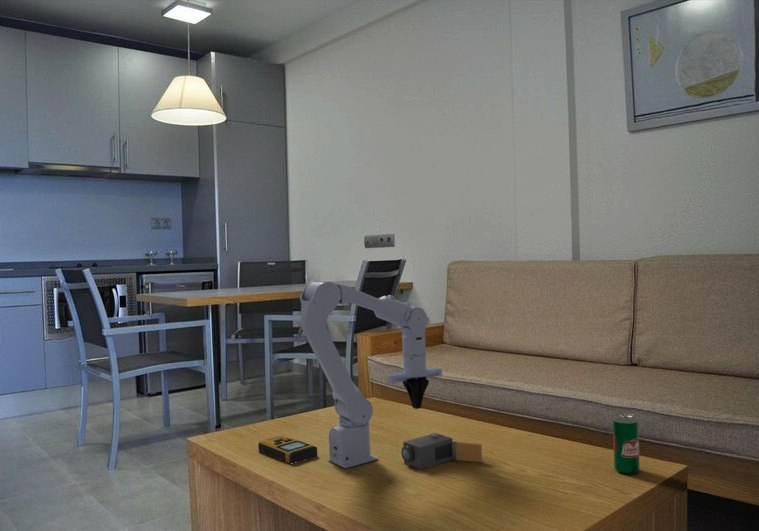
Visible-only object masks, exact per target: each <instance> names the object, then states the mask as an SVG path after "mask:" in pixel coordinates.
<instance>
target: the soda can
mask: <svg viewBox="0 0 759 531" xmlns="http://www.w3.org/2000/svg"><path fill="white" fill-rule="evenodd" d="M613 416H614V417H613V419H612V437H613V438H612V439H613V441H612V442H613V463H614V464H613V465H614V469H615V470H616V472H618V473H619V474H622V475H635V474H637V473H638V472H639V471H640V470H641V467H640V466H641V465H640V464H641V463H640V444H639V442H640V441H639V440H640V439H639V421H638V419H637V416H636V415H635V414H632V413H626V412H625V413H623V412H621V413H620V412H619V413H616V414H614V415H613Z"/></svg>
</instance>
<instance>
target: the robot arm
mask: <svg viewBox="0 0 759 531" xmlns="http://www.w3.org/2000/svg"><path fill="white" fill-rule="evenodd" d="M395 298H396V297H395V296H394V295H391V294H388V295H383V296H381V297H375V296H373V295H371V294H369V293H368V294H367V293H365V292H363V291H361V290H358V289H356V288H354V287H350V286H348V285H345V284H340V283H335V282H332V281H319V280H312V281H310V282H308V283H307V284H306V285H305V286H304V288H303V290H302V293H301V294H300V297H299V300H300V304H301V305H300V307H301V308H300V327H301V330H302V332H303V334H304V336H305V338H306V340H307V342H308V344H309V346H310V347H311V349H312V352H313V353H314V355H315V357H316V359H317V361H318V363H319V365H320V367H321V369H322V371H323V373H324V375H325V377H326V379H327V381H328V383H329V385H330V388H331V389H332V392H331V395H332V398H333V400H334V409H335V412H336V414H337V415H339V418H338V424H337V425H336V426H334V427H332V428H330V430H329V433H328V446H329V447H328V448H329V451H328V452H329V457H328V459H327V460H328V461H329V462H331V463H334V464H335V465H337V466H339V467H342V468H344V469H349V468H352V467H356V466H358V465H363V464H366V463H369V462H373V461H377V460H379V457H378V456H376V455H374V454H371V438H370V437H371V436H370V434H371V433H370V420H371V418H372V416H373V414H374V408H373V405H372V402H370V400H369V399H367V398H365V396H364V395H363V394H362V391H361V390H360V389H359V387H357V385H356V384H355V383H354V381H353V380H352V378H351V376H350V374H349V372H348V370H347V368H346V365H345V364H344V362H343V359H342V357H341V355H340V354H339V351H338V349H337V348H336V345H335V343H334V341H333V339H332V337H331V334H330V333H329V331H328V329H327V328H326V323H327V321H328V319H329V316H330V314H332V312H333V311H334V310H335V309H336V307H337V306H338V305H339V304H340V305H343V304H346V303H349V304H352V305H355V306H359V307H361V308H365V309H367V310H371V311H373V313H374V315H375V317H376V318H378V319H381V320H382V321H386V322H388V323H391V324H394V325H397V326H399V327H400V328H401V338H402V340H401V341H402V361H403V363H402V364H403V370H402V371H400V372H399V371H398V372H395V373H390V374H387V383H389V384H395V383H401V382H402V384H403V386H404V388H405V389H406V391H407V395H408V396H409V399H410V402H411V407H412V408H413V409H415V410H420V409H422V405H423V404H422V403H423V399H424V396H425V392H426V390H427V387H428V386H429V383H430V380H429V379H428V378H433V377H434V378H435V377H442V376H443V372H442V370H443V369H442V368H440V367H429V368H428V367H427V357H426V356H427V355H426V354H427V353H426V328H427V326H428V324H429V320H430V318H429V317H428V315H427V313H426V311H425V309H423V308H421V307H419V306H418V307H417V306H412V305H411V302H408V301H405V302H402V301H400V300H397V299H395Z"/></svg>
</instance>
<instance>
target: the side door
mask: <svg viewBox="0 0 759 531" xmlns="http://www.w3.org/2000/svg"><path fill="white" fill-rule="evenodd" d="M482 446H483V445H482V443H477V442H476V443H474V442H463V441H462V442H459V441H456V440H455V441H454V440H453V461H455V462H456V461H463V462H464V461H466V462H475V463H476V462H477V463H482V462H483V447H482Z"/></svg>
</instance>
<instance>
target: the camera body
mask: <svg viewBox="0 0 759 531" xmlns="http://www.w3.org/2000/svg"><path fill="white" fill-rule="evenodd" d="M453 442H454V440H453V438H452V437H449V436H446V435H443V434H439V433H438V432H433V433H431V434H428V435H423V436H420V437H417V438H413V439H410V440H405V441H403V447H402V448H401V451H400V452H401V457H402V459H403V464H405V465H407V466H408V465H409V466H411V467H412V468H415V469H418V470H420V471H422V470H425V469H428V468H431V467H434V466H437V465H440V464H443V463H446V462H450V461H452V460H453V461H454V458H453Z"/></svg>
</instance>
